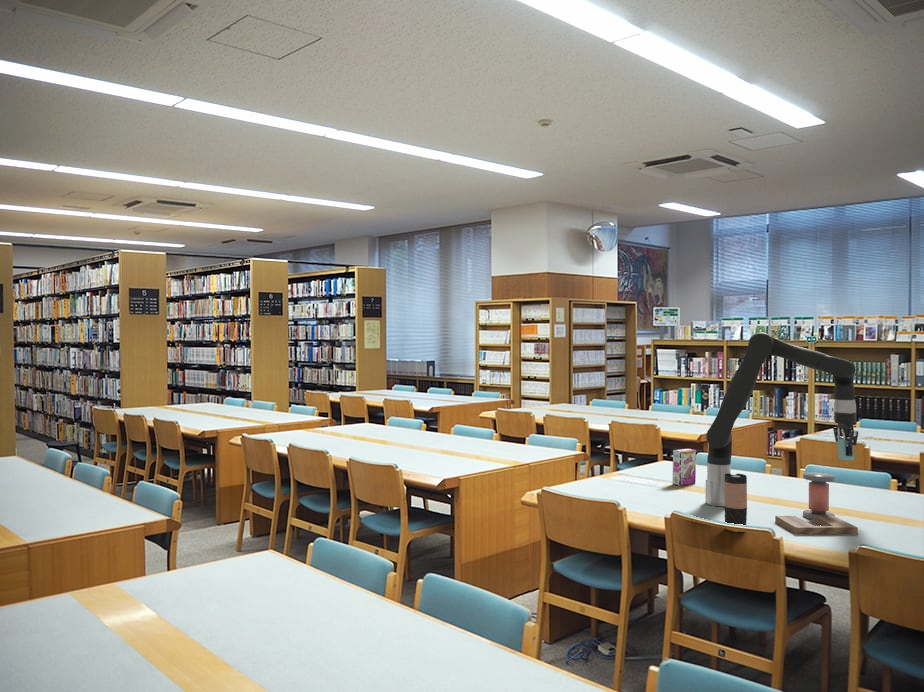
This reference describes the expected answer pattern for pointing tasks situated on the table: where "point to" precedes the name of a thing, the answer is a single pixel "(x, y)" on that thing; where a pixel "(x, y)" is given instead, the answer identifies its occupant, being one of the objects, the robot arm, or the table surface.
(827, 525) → the notched board
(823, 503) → the bobbin
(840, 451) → the teal peg
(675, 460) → the candy bar box
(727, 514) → the travel mug
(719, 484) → the robot arm
